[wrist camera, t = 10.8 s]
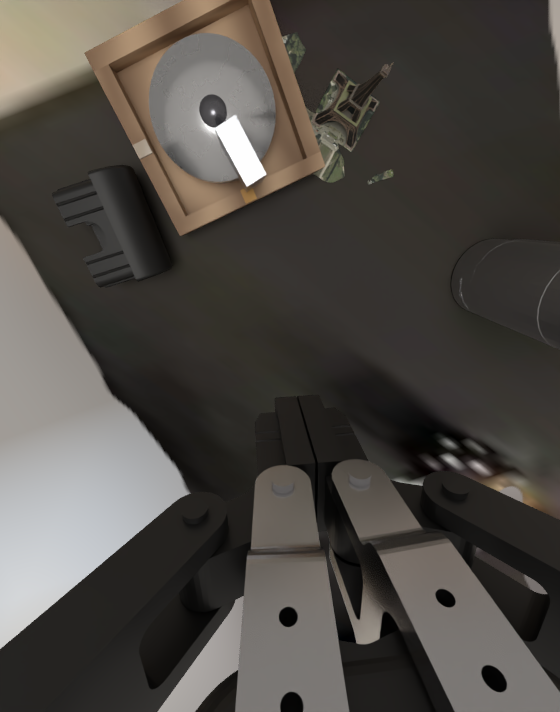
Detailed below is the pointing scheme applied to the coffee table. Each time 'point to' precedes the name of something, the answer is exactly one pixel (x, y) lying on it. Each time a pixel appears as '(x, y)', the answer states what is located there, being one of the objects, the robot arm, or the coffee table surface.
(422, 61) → the coffee table surface
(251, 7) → the wooden square tray
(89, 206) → the end cap
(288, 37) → the eiffel tower figurine
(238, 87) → the dial
